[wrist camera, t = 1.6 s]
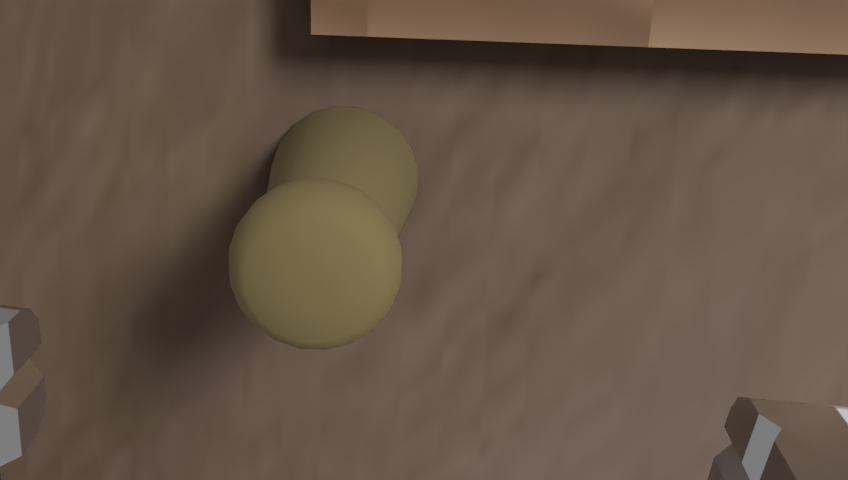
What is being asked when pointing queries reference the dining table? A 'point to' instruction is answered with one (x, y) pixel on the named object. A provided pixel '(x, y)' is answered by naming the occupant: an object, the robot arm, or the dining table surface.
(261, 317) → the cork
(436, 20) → the keyhole board
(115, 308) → the dining table surface
